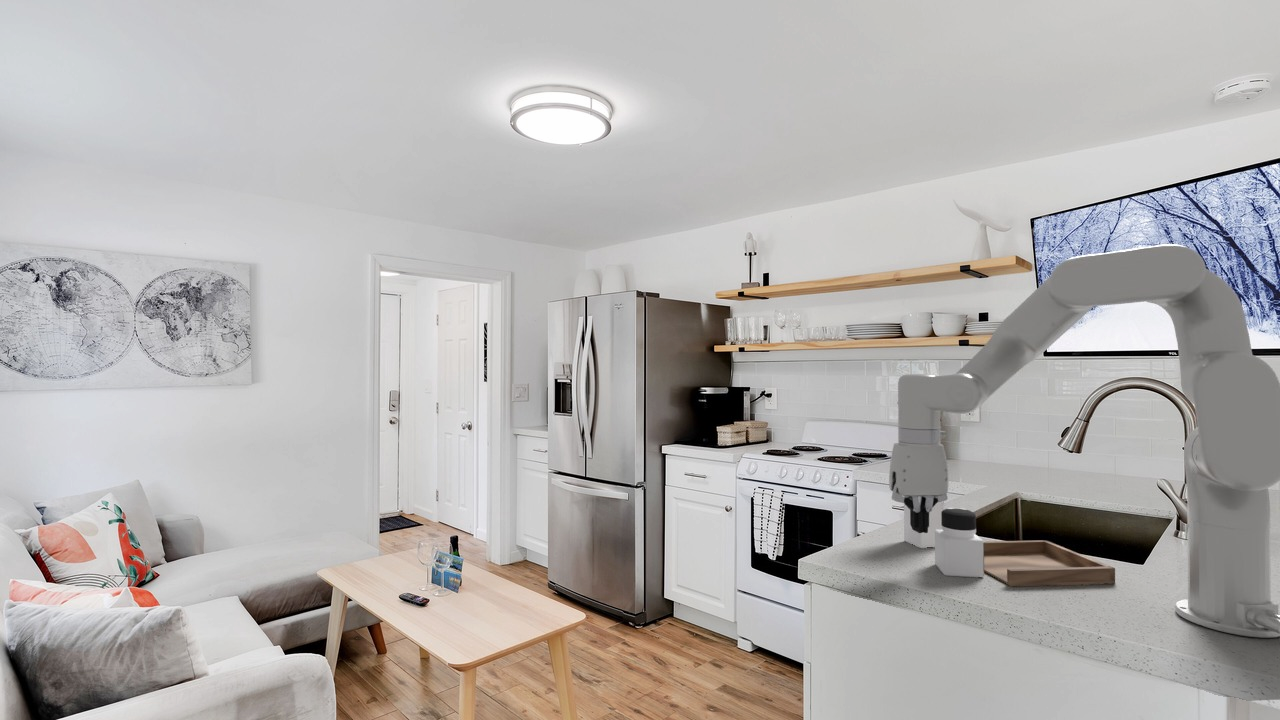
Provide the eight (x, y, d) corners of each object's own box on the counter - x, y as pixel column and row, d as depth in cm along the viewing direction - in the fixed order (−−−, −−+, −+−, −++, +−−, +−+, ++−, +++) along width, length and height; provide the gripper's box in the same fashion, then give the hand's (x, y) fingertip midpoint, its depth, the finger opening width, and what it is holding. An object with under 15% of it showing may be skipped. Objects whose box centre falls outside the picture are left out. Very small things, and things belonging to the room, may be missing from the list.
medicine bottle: (984, 578, 118) (984, 515, 118) (944, 576, 120) (943, 513, 120) (972, 566, 125) (972, 506, 125) (934, 564, 127) (934, 505, 127)
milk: (926, 539, 144) (926, 444, 144) (944, 547, 138) (944, 447, 138) (903, 541, 143) (903, 444, 143) (920, 548, 137) (920, 448, 137)
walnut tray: (1115, 583, 115) (1115, 568, 115) (1010, 586, 114) (1010, 570, 114) (1045, 553, 133) (1045, 540, 133) (954, 556, 132) (954, 542, 132)
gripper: (945, 434, 126) (946, 525, 126) (873, 435, 125) (874, 527, 125) (967, 439, 119) (967, 535, 119) (890, 440, 118) (891, 537, 118)
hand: (919, 531), depth 122 cm, fingers closed
